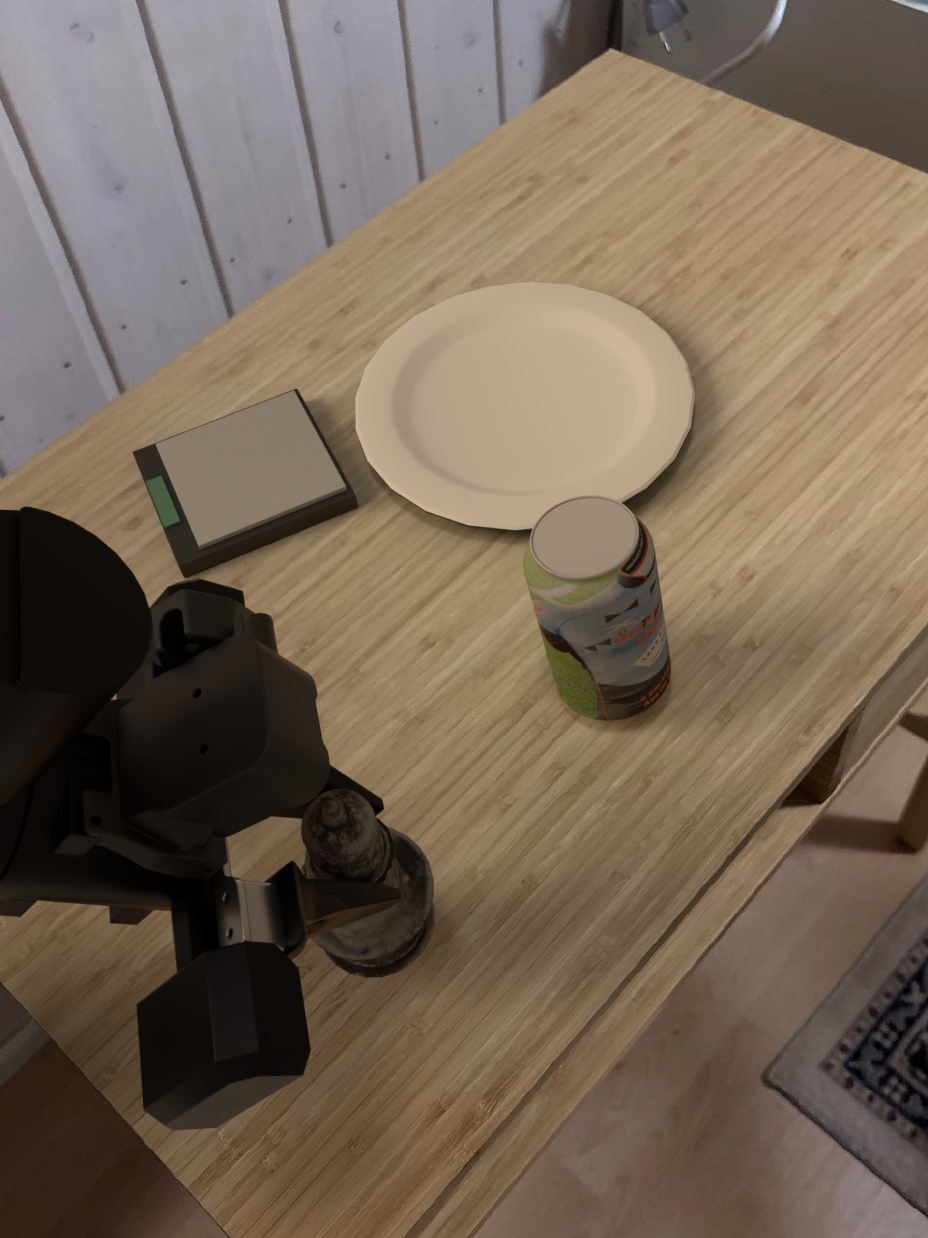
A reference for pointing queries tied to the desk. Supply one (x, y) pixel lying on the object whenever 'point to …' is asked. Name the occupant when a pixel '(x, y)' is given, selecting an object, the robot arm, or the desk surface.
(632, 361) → the plate
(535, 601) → the beverage can
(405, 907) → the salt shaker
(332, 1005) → the desk surface
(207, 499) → the scale
